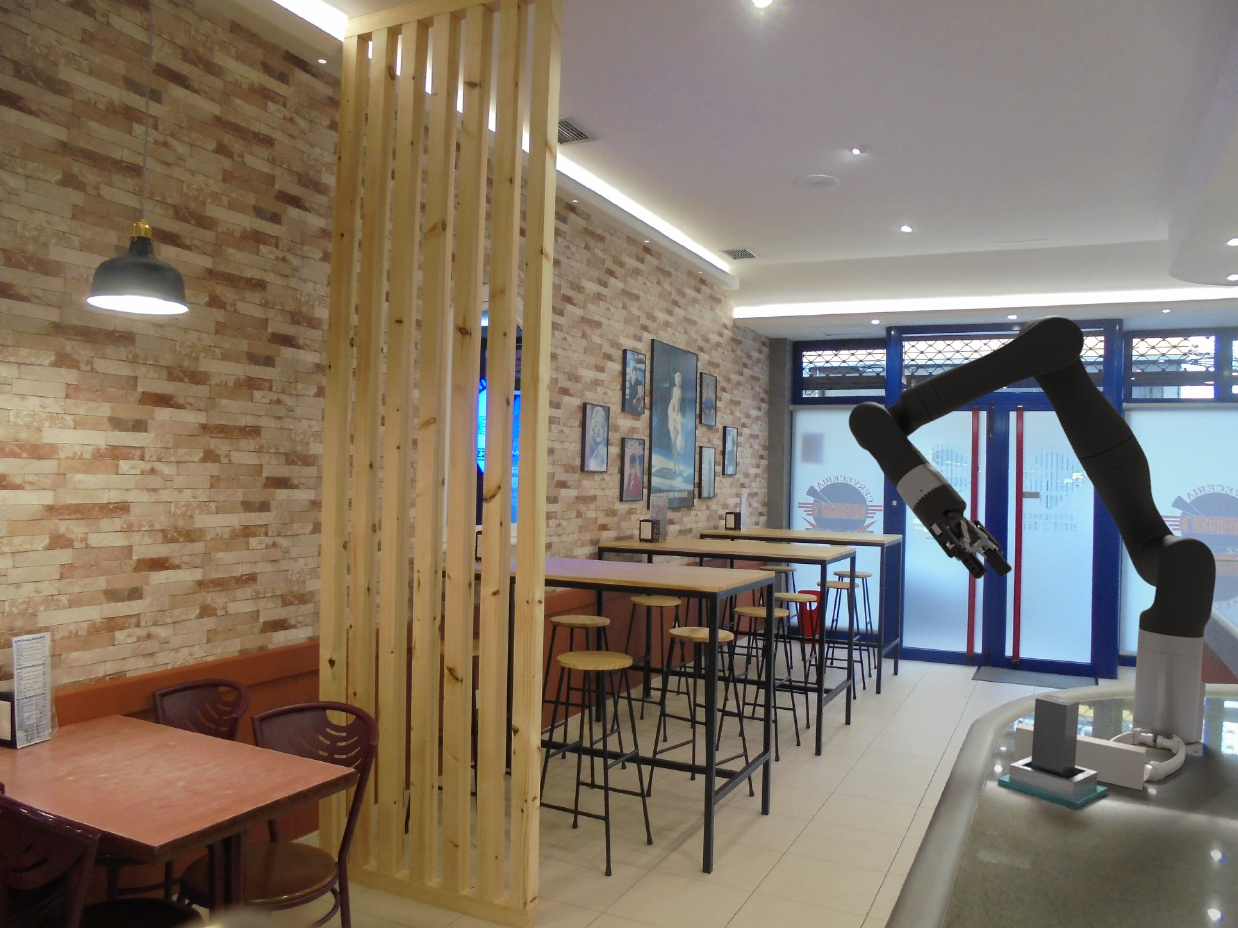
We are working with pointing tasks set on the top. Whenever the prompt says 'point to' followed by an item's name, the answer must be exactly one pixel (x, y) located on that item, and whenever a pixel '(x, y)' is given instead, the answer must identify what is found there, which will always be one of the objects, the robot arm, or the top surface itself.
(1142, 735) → the door handle
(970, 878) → the top surface
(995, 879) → the top surface
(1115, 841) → the top surface
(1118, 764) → the door edge
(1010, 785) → the keeper
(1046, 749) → the block
